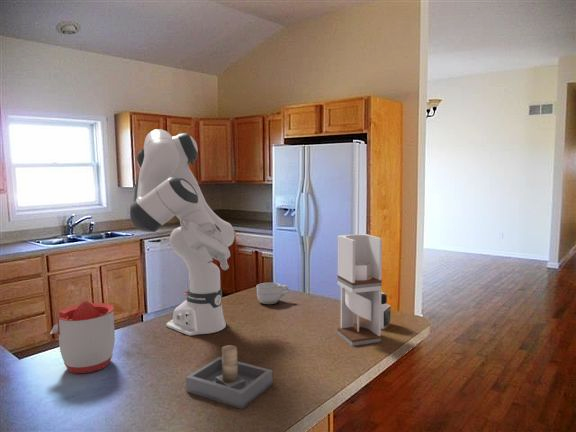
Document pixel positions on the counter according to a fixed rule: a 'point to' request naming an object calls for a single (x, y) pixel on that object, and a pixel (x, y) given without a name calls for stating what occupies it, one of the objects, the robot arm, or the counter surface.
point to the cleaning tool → (230, 369)
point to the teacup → (270, 292)
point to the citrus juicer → (86, 336)
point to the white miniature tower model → (360, 288)
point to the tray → (207, 387)
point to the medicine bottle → (384, 311)
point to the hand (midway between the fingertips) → (218, 265)
